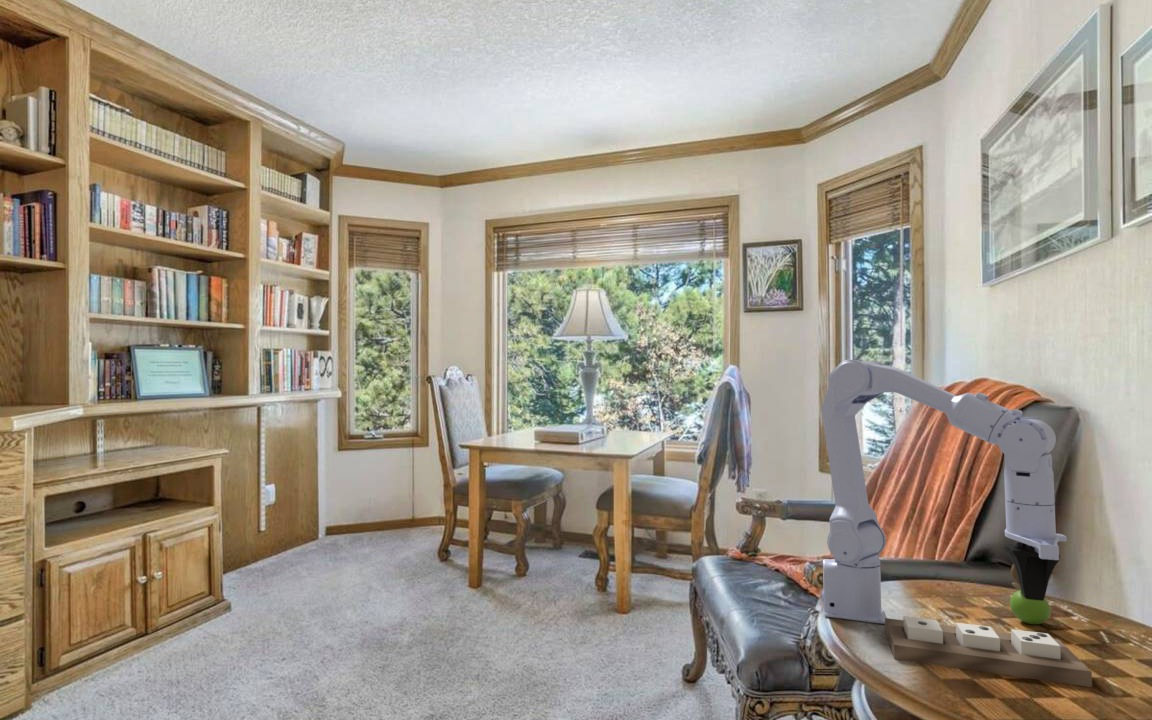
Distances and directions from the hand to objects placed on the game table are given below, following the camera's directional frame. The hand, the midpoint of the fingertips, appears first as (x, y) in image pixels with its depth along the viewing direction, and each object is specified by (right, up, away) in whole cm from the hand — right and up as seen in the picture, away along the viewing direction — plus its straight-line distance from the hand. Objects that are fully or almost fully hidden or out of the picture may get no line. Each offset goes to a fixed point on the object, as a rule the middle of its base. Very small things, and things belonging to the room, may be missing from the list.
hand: (1033, 598), depth 85 cm
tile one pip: (-13, -8, +5) cm, 16 cm away
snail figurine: (+11, -10, +14) cm, 21 cm away
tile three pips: (0, -8, 0) cm, 8 cm away
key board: (-7, -9, +2) cm, 11 cm away
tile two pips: (-7, -8, +2) cm, 11 cm away
